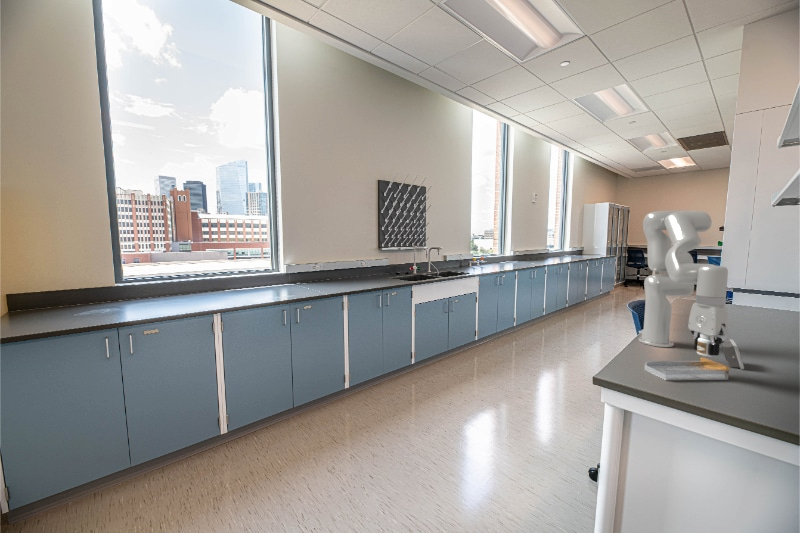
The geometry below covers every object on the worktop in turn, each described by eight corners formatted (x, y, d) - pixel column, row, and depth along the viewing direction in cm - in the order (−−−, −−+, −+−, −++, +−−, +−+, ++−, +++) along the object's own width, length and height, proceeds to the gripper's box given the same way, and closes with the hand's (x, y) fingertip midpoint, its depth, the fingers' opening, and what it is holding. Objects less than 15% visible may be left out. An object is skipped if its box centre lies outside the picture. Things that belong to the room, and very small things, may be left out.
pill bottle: (693, 352, 116) (695, 331, 116) (706, 352, 116) (708, 331, 115) (703, 356, 112) (705, 334, 112) (717, 357, 112) (719, 335, 111)
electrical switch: (744, 370, 118) (743, 345, 118) (724, 368, 122) (723, 343, 121) (739, 363, 126) (738, 339, 125) (721, 361, 129) (720, 338, 129)
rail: (644, 369, 119) (645, 357, 118) (702, 369, 119) (703, 357, 119) (665, 380, 110) (666, 367, 109) (727, 379, 111) (729, 366, 110)
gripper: (678, 297, 121) (674, 344, 122) (724, 306, 104) (720, 361, 106) (697, 297, 121) (693, 344, 123) (747, 306, 104) (742, 361, 106)
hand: (706, 351), depth 114 cm, fingers closed on pill bottle, 4 cm apart
